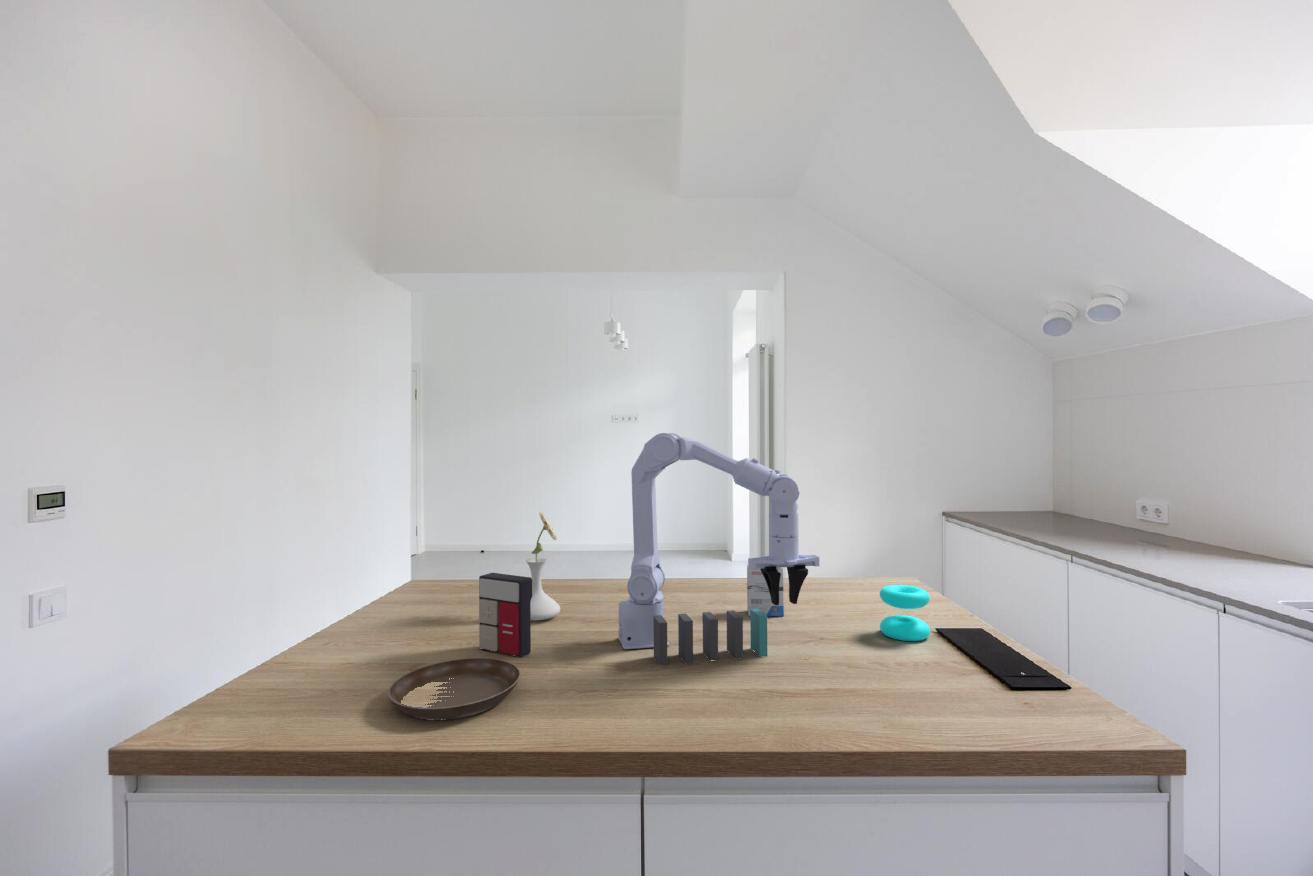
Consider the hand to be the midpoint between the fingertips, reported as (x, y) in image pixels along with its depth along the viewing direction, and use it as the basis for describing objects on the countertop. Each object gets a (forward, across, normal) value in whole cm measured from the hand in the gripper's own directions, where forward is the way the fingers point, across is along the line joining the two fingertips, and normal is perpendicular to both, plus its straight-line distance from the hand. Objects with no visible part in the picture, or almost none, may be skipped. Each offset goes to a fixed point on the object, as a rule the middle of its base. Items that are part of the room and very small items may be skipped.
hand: (784, 603), depth 122 cm
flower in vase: (+10, -48, +35) cm, 60 cm away
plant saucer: (+10, -62, -9) cm, 63 cm away
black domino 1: (+9, -26, 0) cm, 27 cm away
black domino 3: (+9, -10, 0) cm, 14 cm away
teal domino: (+9, -6, 0) cm, 11 cm away
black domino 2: (+9, -20, 0) cm, 23 cm away
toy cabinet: (+10, -55, +12) cm, 57 cm away
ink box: (+10, +6, +25) cm, 27 cm away
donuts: (+10, +29, +3) cm, 31 cm away
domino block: (+9, -16, 0) cm, 18 cm away
